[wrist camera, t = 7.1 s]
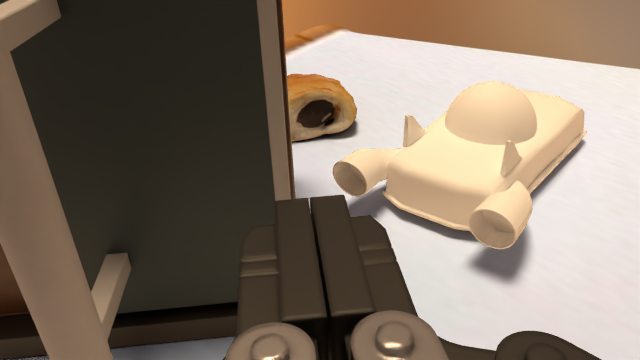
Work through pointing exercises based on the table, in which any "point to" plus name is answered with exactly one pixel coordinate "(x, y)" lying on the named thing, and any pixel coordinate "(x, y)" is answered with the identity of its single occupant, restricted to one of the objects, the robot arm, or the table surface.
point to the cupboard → (134, 327)
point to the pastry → (318, 106)
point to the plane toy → (473, 160)
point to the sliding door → (134, 156)
